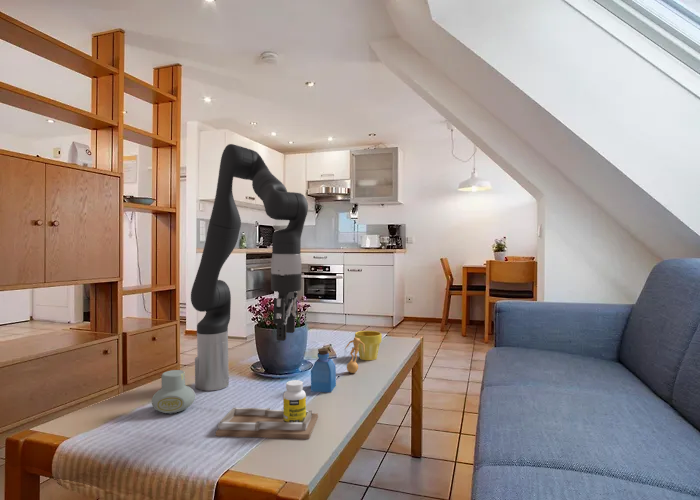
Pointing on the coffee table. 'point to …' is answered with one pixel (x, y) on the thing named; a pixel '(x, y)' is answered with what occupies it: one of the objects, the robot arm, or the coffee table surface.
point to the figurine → (352, 365)
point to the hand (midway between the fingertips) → (286, 336)
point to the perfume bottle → (323, 373)
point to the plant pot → (369, 344)
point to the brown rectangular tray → (264, 424)
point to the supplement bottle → (294, 402)
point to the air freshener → (173, 393)
